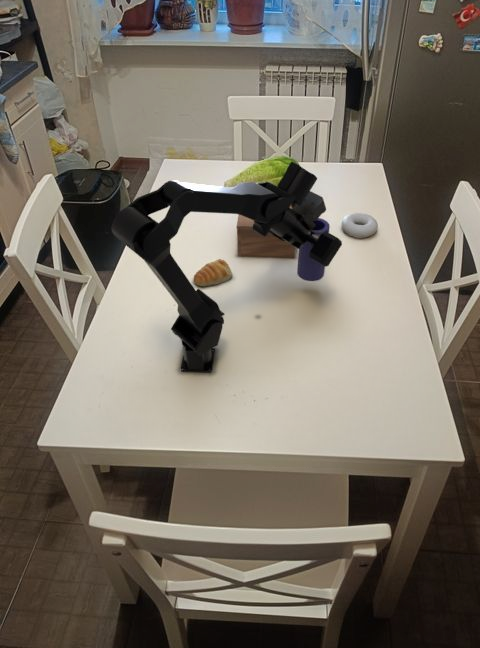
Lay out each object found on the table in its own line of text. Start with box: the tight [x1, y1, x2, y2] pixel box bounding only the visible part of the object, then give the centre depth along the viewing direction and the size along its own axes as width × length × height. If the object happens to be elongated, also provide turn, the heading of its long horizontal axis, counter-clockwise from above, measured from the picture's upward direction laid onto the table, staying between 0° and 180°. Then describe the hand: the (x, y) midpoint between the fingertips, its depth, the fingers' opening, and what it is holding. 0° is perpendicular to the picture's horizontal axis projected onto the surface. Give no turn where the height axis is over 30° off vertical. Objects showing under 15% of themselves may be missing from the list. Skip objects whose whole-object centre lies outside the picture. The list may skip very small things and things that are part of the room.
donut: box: [341, 212, 379, 239], centre depth 142 cm, size 10×4×10 cm
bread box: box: [236, 228, 296, 259], centre depth 135 cm, size 14×15×9 cm
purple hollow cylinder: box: [296, 217, 331, 282], centre depth 114 cm, size 6×6×13 cm
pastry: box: [193, 258, 233, 288], centre depth 125 cm, size 9×7×4 cm
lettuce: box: [223, 155, 300, 187], centre depth 155 cm, size 12×24×13 cm
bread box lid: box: [236, 206, 292, 230], centre depth 130 cm, size 15×15×4 cm
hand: (317, 247), depth 115 cm, fingers closed on purple hollow cylinder, 6 cm apart
